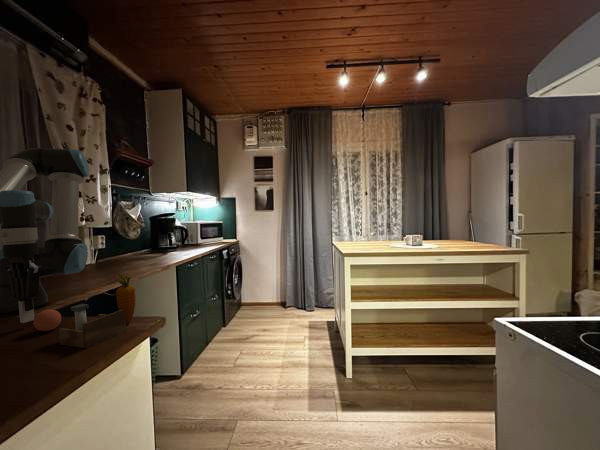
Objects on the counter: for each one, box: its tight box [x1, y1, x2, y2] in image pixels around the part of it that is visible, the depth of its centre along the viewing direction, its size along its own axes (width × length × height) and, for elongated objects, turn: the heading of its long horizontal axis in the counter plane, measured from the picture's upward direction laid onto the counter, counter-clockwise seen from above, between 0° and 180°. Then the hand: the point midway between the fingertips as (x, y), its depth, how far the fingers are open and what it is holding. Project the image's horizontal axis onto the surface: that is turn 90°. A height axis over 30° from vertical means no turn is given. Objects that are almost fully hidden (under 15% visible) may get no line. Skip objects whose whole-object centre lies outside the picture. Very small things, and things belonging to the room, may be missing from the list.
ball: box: [32, 309, 62, 332], centre depth 80 cm, size 6×6×6 cm
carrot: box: [115, 274, 137, 325], centre depth 82 cm, size 5×5×15 cm
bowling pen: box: [58, 309, 127, 349], centre depth 74 cm, size 10×11×6 cm
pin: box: [70, 303, 90, 331], centre depth 76 cm, size 3×3×8 cm
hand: (27, 321), depth 83 cm, fingers closed
